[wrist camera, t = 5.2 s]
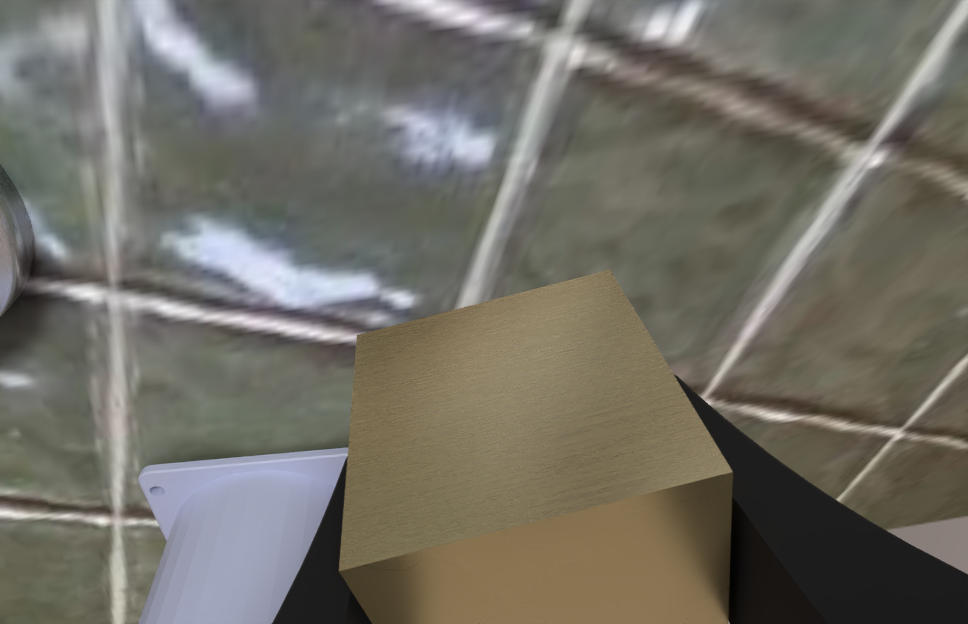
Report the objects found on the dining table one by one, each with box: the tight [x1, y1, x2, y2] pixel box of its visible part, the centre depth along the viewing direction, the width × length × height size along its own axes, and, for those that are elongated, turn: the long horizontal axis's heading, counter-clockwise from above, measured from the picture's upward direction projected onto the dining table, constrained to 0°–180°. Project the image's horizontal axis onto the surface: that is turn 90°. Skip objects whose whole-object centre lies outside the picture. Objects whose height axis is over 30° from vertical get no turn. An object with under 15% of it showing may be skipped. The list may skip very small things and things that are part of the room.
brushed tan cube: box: [339, 270, 733, 624], centre depth 11 cm, size 5×5×5 cm
